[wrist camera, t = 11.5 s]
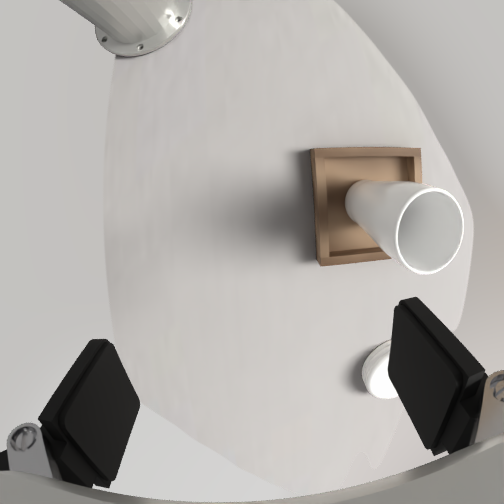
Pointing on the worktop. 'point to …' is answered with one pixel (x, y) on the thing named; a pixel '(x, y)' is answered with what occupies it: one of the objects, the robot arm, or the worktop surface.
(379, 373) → the white cup lid
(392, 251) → the white tall cup
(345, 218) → the tray
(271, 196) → the worktop surface
